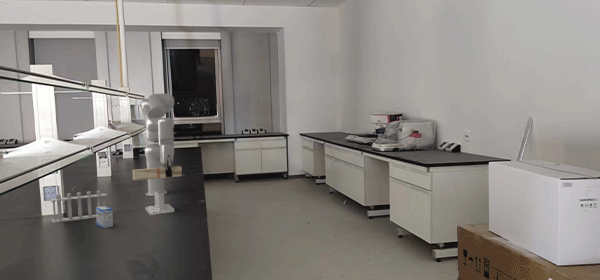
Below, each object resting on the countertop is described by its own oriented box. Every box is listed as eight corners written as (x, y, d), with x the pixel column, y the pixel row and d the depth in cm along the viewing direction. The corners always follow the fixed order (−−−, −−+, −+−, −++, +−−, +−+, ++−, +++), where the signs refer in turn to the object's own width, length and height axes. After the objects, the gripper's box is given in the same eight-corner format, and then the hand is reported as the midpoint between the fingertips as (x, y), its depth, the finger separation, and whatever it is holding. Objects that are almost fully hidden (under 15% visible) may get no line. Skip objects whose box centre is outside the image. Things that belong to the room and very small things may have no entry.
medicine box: (96, 225, 204) (95, 207, 204) (106, 223, 208) (104, 205, 207) (103, 228, 199) (102, 209, 198) (113, 226, 202) (112, 208, 201)
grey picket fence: (51, 223, 211) (49, 196, 210) (52, 221, 215) (50, 194, 214) (108, 216, 221) (106, 190, 220) (107, 214, 225) (106, 189, 224)
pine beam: (133, 179, 225) (132, 169, 225) (180, 175, 237) (179, 165, 236) (134, 180, 221) (133, 170, 221) (181, 176, 233) (181, 166, 233)
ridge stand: (145, 209, 234) (144, 191, 233) (168, 206, 240) (167, 188, 239) (150, 215, 222) (149, 195, 221) (174, 211, 227) (173, 192, 227)
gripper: (155, 141, 236) (157, 175, 237) (162, 143, 221) (164, 179, 222) (170, 140, 239) (171, 173, 241) (177, 142, 225) (178, 177, 226)
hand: (167, 176), depth 231 cm, fingers closed on pine beam, 4 cm apart
